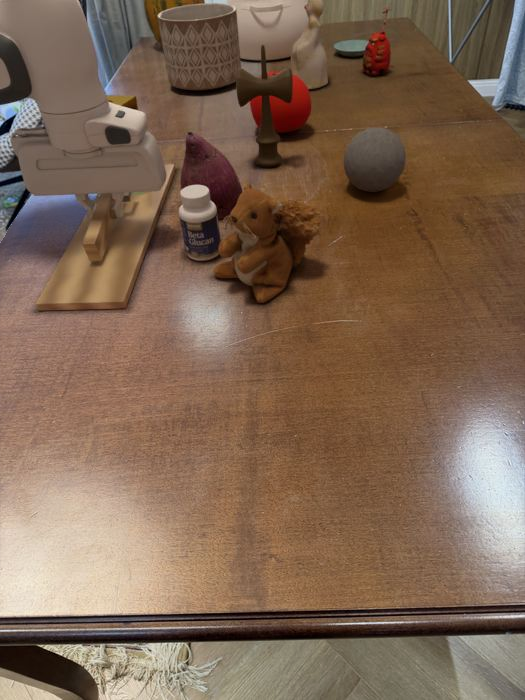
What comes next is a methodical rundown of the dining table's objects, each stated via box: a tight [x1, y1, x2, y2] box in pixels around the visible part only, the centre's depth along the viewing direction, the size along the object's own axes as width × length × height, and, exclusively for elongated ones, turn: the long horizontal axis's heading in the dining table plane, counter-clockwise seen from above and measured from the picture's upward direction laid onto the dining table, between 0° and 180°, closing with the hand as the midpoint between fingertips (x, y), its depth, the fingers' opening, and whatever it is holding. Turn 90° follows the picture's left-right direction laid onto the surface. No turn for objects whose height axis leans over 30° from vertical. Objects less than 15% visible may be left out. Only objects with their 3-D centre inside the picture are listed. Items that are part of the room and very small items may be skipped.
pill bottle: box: [178, 185, 222, 262], centre depth 72 cm, size 5×5×10 cm
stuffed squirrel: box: [212, 182, 324, 304], centre depth 66 cm, size 10×14×13 cm
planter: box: [158, 2, 242, 92], centre depth 128 cm, size 19×19×16 cm
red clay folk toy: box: [362, 3, 392, 77], centre depth 127 cm, size 8×7×15 cm
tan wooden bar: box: [82, 192, 132, 261], centre depth 77 cm, size 18×5×3 cm, turn 178°
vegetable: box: [180, 129, 243, 220], centre depth 80 cm, size 10×10×15 cm
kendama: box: [235, 45, 293, 168], centre depth 89 cm, size 6×10×20 cm, turn 86°
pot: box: [226, 0, 309, 62], centre depth 148 cm, size 29×26×16 cm
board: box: [35, 163, 176, 312], centre depth 82 cm, size 12×42×1 cm, turn 178°
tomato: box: [249, 70, 312, 134], centre depth 104 cm, size 12×14×11 cm
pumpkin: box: [143, 0, 206, 47], centre depth 156 cm, size 19×19×25 cm
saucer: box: [333, 39, 369, 58], centre depth 146 cm, size 12×12×2 cm
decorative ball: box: [343, 126, 407, 193], centre depth 83 cm, size 10×10×10 cm
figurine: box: [289, 0, 330, 92], centre depth 123 cm, size 12×10×20 cm
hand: (107, 217), depth 77 cm, fingers closed on tan wooden bar, 2 cm apart
